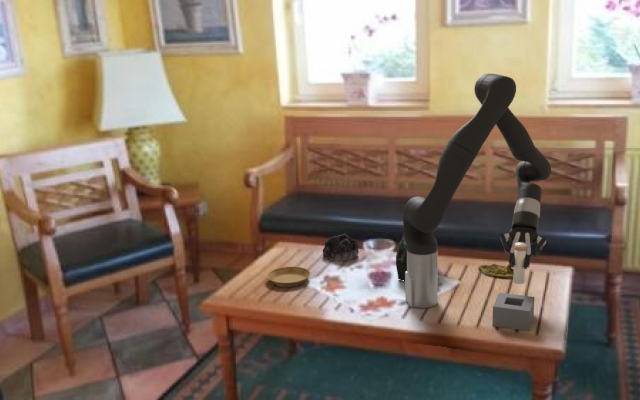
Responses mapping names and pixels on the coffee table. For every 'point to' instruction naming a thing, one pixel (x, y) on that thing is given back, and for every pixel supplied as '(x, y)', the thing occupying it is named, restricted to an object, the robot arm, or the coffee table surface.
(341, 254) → the crystal cluster
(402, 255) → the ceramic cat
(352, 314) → the coffee table surface
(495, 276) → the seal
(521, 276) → the dowel
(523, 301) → the hole block
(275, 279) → the plant saucer
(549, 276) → the coffee table surface
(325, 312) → the coffee table surface
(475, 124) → the robot arm
